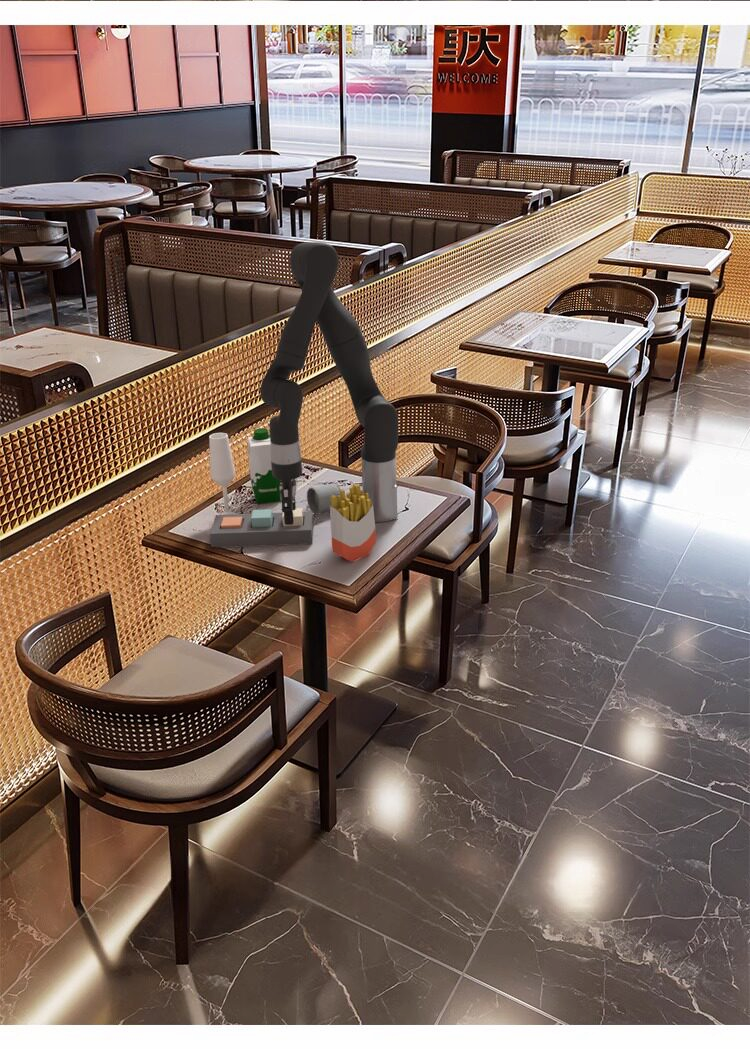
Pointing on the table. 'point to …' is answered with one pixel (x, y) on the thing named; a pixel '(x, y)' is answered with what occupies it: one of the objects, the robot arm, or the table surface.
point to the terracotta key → (231, 522)
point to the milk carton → (262, 468)
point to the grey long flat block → (262, 532)
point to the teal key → (262, 518)
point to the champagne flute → (221, 464)
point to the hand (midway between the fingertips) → (290, 516)
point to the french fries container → (352, 524)
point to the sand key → (296, 517)
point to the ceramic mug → (321, 497)
